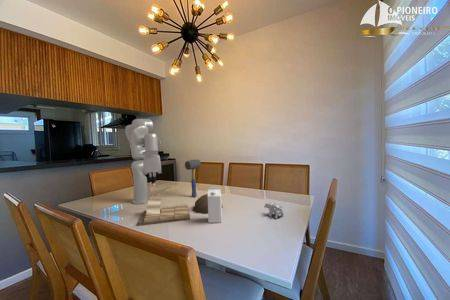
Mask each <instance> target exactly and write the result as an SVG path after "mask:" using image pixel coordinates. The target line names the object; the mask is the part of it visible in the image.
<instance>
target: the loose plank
mask: <svg viewBox="0 0 450 300" xmlns="http://www.w3.org/2000/svg"><path fill="white" fill-rule="evenodd" d="M161 205H162V198H161V197H157V198H155V197H154V198H150V199H148V202H147V207H146V211H147V212H146V216H149V215H158V214H160V209H161V208H162V206H161Z"/></svg>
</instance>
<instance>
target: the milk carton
mask: <svg viewBox="0 0 450 300" xmlns="http://www.w3.org/2000/svg"><path fill="white" fill-rule="evenodd" d="M207 194H208V214H207V215H208V216H207V217H208V221H207V222H208V224H209V223H211V224H213V223H222V220H223V216H222V215H223V210H222V209H223V208H222V206H223V204H222V205H221V203H222V189H221V187H220V186H216V187H211V186H210V187H208V188H207Z"/></svg>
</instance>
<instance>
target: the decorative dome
mask: <svg viewBox="0 0 450 300" xmlns="http://www.w3.org/2000/svg"><path fill="white" fill-rule="evenodd" d="M222 203H223V202H221V205H222V209H223V208H224V207H223V204H222ZM192 210H193V211H194V212H195V213H196V214H203V215H206V214H207V215H208V193H207V194H206V193H205V194H203V195H201V196H200V197H198V199H197V200H196V201H195V202H194V206H193V209H192Z"/></svg>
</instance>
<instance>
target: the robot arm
mask: <svg viewBox="0 0 450 300" xmlns="http://www.w3.org/2000/svg"><path fill="white" fill-rule="evenodd" d="M153 129H154V122H153V120H152V119H149V118H135V119H133V120H132V121H131V124H128V125H126V126H125V129H124V132H125V136H126V138H127V140H128V142H129V146H130V153H131V158H132V159H133V160H134V161H133V162H132V163H131V165H130V167H131V171H132V177H133V178H132V179H133V195H134V199H133V200H132V201H131V203H132V204H134V205H141V204H148V199H151V198H149V195H148V194H149V192H148V177H147V176H149V179H150V180H149V181H150V183H151V184H156V181H157V176H158V175H159V174H162V173H163V172H162V162H161V157H160V154H159V144H158V134H157V133H151V132H152V131H153ZM146 175H147V176H146Z"/></svg>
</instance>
